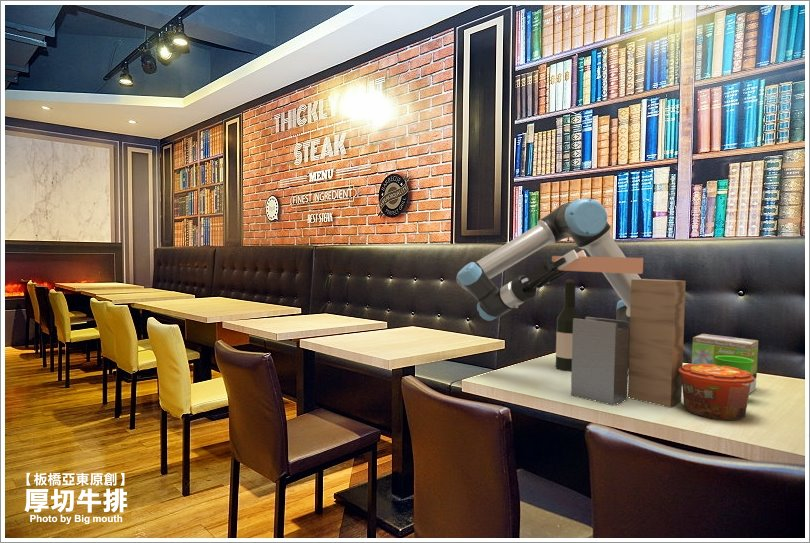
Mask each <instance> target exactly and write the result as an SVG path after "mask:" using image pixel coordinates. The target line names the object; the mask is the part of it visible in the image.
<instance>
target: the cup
mask: <svg viewBox="0 0 810 543" xmlns="http://www.w3.org/2000/svg"><path fill="white" fill-rule="evenodd" d="M715 358H716V361H717V366H729V367H734V368H738V369H739V370H745V371H748V372H751V368H752V363H753V362H754V360H752V359H749V358H745V357H739V356H727V355H719V356H715Z"/></svg>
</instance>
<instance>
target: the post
mask: <svg viewBox="0 0 810 543" xmlns="http://www.w3.org/2000/svg"><path fill="white" fill-rule="evenodd" d="M686 282H687V281H686V280H673V279H654V278H653V279H651V278H641V279H631V308H630V340H629V368H628V384H627V398H628V397H630V398H629V399H631V398H634V399H633V400H635V399H638V400H637V401H640V400H642V401H641V402H644V401H647V402H646V403H649V402H651V403H650V404H653V403H655V404H654V405H658V404H660V405H659V406H662V405H664V406H663V407H666V406H668V407H667V408H673V407H674V405H675V406H676V404H677V405H679V404H681V403H682V397H683V389H682V379H681V373H679V372H678V370H679V368H681V367H682V366H683V365H684V364H683V363H684V362H683V361H684V335H685V334H684V333H685V307H686ZM678 403H679V404H678Z"/></svg>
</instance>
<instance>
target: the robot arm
mask: <svg viewBox="0 0 810 543" xmlns="http://www.w3.org/2000/svg"><path fill="white" fill-rule="evenodd" d="M611 230H612V226H611V225H610V224H609V223H608V213H607V210H606V208H605V207H604V206H603V204H602V203H601V202H599V201H597V200H595V199H592V198H579V199H575V200H573V201H570V202H565V203H563V204H561V205H559V206H558V207H556V208H555V209H554V210H553V211H551V212H549V213H548V214H547V215H546V216H544V217H541V219H539V220H538V221H537V224H536V225H535V226H534V227H531V228H530V229H528V230H526V231H525V232H523V233H522V234H520V235H518V236H517V237H515V238H514V239H511V240H510V241H508V242H507V243H505V244H504V245H502V246H500V247H499V248H497V249H495V250H494V251H492V252H491V253H489V254H487V255H486V256H484V257H482V258H481V259H478V260H477V261H476V262H475V261H474V262H473V261H471V262H469V263H467V264H466V265H464V266H463V267H462V268H461V269H460V270H459V271H458V272H457V275H456V283H457V285H458V286H459V287H460V289H462V290H465V291H468V292H469V293H470V294H471V296H473V297H474V298H475V300H476V301H477V304H476V310H477V312H478V313H479V316H480V317H481V318H482V319H483V320H485V321H489V322H491V321H493V320H496V319H498V318H500V317H502V316H504V315H505V314H506V313H509V312H510V311H511V310H513V309H519V306H520V305H522V304H524V303H525V302H527V301H529V300H531V299H533V298H534V297H535V296H536V294H537V289H541V288H542V287H544V285H547V286H550V285H551V284H552V283H554V282H555V281H557V280H558V279H560V278H562V277H563V276H565V275H567V274H569V273H571V272H572V271H563V270H558V269H562V268H563V267H565V266H567V265H568V264H570V263H572V262H573V261H575V260H577V259H579V258H578V257H588V255H589V257H626V255H625V254H624V252H623V251H622V249H620V247H619V246H618V244H617V242H616V241H615V239H614V238H613V237H612V236H611ZM568 238H571V239H572V240H573V242H574V243H575V245H576V246H577V247H578V249H581V250H579V251H578V252H577V251H576V250H575V249H572V250H570V251H568V252H566V253H565V254H564V255H561V256H562V257H560V258H559V259H557V260H556V261H555V262H552V261H551V262H545V263H544V264H542V265H540V266H539V267H538V268H536V269H534V270H532V271H530V272H529V273H527V274H525V275H523V274H521V275H519V276H518V277H516V278H514V279H513V280H511V281H509V282H508V283H506V284H505V285H503V286H501V287H500V288H498V287H497V286H496V285H495V284H494V282H493V281H492V280H491V279H493V278H494V277H496V276H498V275H500V274H501V273H503V272H504V271H506V270H508V269H509V268H511V267H512V266H514V265H516V264H517V263H519V262H521V261H522V260H524V259H526V258H527V257H529V256H531V255H533V254H534V253H536V252H538V251H539V250H540V249H542V248H544V247H546V246H547V245H550V244H551V245H555V244H557V243H558V242H560V241H562V240H565V239H568ZM585 251H586V252H587V253H588V255H587V254H586V252H585ZM557 268H558V269H557ZM601 273H602V274H603V276H604V277H605V279H606V280H607V281H608V282H609V283H610V285H611V287H612V288H613V290H614V291H615V293H617V296H618V297H619V298H620V300H618V301H617V303H616V309H615V312H616V313H615V314H616V315H615V316H616V318H615V320H621V321H629V340H630V308H631V279H642V278H641V277H640V275H639V274H630V273H608V272H601ZM628 369H629V352H628Z"/></svg>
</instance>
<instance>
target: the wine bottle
mask: <svg viewBox="0 0 810 543" xmlns="http://www.w3.org/2000/svg"><path fill="white" fill-rule="evenodd" d="M574 318H576V319H582V318H581V316H580V315H579V312H578V311H577V309H576V282H575V280H574V279H566V281H565V282H564V306H563V308H562V310H561V312H559V315H558V316H557V318H556V338H555V339H556V340H555V341H556V342H555V370H558V371H559V370H560V371H563V372H564V371H565V372H572V340H573V319H574Z"/></svg>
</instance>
